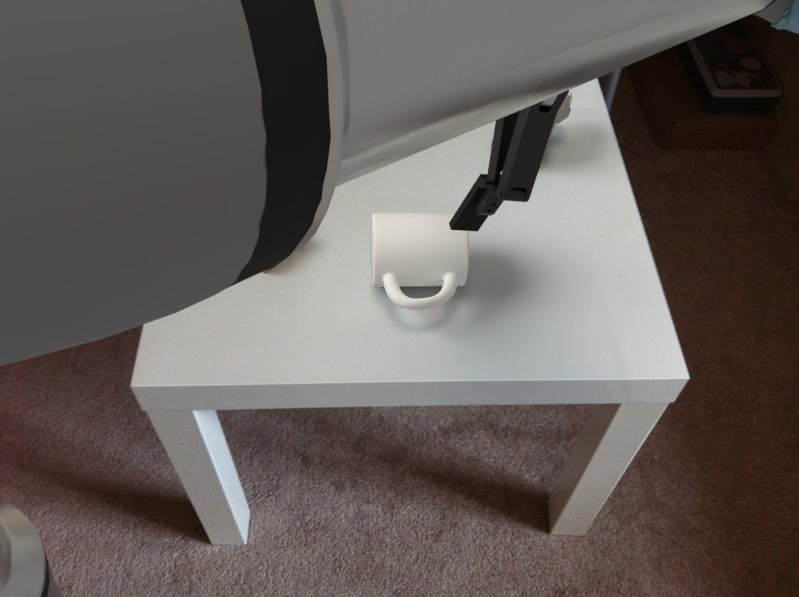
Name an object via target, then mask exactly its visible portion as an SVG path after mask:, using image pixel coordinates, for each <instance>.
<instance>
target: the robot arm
mask: <svg viewBox="0 0 799 597" xmlns="http://www.w3.org/2000/svg"><path fill="white" fill-rule="evenodd" d="M751 16H757V17H759V18H762V19H763V20H765V21H766V22H769V23H770V27H772V28H775V29H776V30H778V31H779V30H786V31H789V32H792V33H794V34H798V35H799V0H0V367H3V366H8V365H12V364H14V363H18V362H22V361H26V360H30V359H33V358H37V357H41V356H44V355H47V354H52V353H55V352H59V351H63V350H67V349H70V348H74V347H78V346H81V345H84V344H89V343H92V342H95V341H99V340H103V339H106V338H109V337H111V336H114V335H118V334H121V333H124V332H126V331H129V330H132V329H134V328H138V327H140V326H142V325H143V326H144V325H145V324H149V323H152V322H154V321H157V320H160V319H162V318H166V317H168V316H171V315H174V314H177V313H179V312H181V311H183V310H185V309H188V308H190V307H192V306H194V305H196V304H198V303H200V302H203V301H205V300H207V299H209V298H211V297H214V296H216V295H218V294H220V293H221V292H223V291H225V290H227V289H229V288H230V287H233V286H235V285H237V284H239V283H241V282H244V281H246V280H247V279H250V278H252V277H254V276H256V275H258V274H261V273H264V272H263V271H265V270H268V269H269V270H271V269H273V268H275V267H277V266H278V265H279V264H282V263H284V262H286V261H288V260H290V259H291V258H293V257H294V256H296V254H298V253H299V252H300V251H302V250H303V249H304V248H305V247H306V245H308V243H309V242H310V241H311V239H312V238H314V236H315V235H316V234H317V232H318V230H319V228H320V226H321V225H322V222H323V220H324V218H325V216H326V215H327V214H328V213H327V212H328V211H329V207H330V204H331V201H332V198H333V195H334V192H335V190H336V188H337V187H340V186H342V185H344V184H347V183H350V182H351V181H354V180H356V179H359V178H361V177H363V176H366V175H368V174H370V173H374V172H376V171H379V170H380V169H382V168H385V167H388V166H390V165H393V164H395V163H398V162H400V161H402V160H404V159H407V158H410V157H412V156H414V155H417V154H418V153H421V152H424V151H426V150H429V149H431V148H433V147H437V146H438V145H440V144H443V143H445V142H447V141H450V140H452V139H455V138H457V137H459V136H462V135H464V134H467V133H469V132H472V131H474V130H476V129H479V128H481V127H484V126H487V125H488V124H491V123H493V122H495V123H494V128H493V135H492V140H493V142H492V141H491V144H492V147H491V148H490V155H489V161H488V166H487V167H488V168H487V173H480V174H479V175H478V177H477V178H476V180H475V181H474V183H473V184H472V186H471V188H470V189H469V191H468V192H467V194H466V196H464V198H463V200H462V202H461V204H460V205H459V206H458V208H457V210H456V211H455V212H454V213H455V214H454V216H453V217H452V219H451V221H450V222H449V225H450V229H451V230H461V231H468V232H479V231H480V229H481V227H483V224H484V223H485V222H486V220H487V219H488V218H489V216H490V217H491V216H494V215H495V214H496V212H498V210H499V208H500V207H501V205H502V204H503V203H504V202H505V201H507V202H519V203H527V202H529V200H530V198H531V196H532V192H533V189H534V186H535V183H536V181H537V177H538V173H539V171H540V167H541V164H542V162H543V158H544V156H545V154H544V152H545V149H546V150H547V146H548V142H549V140H550V139H549V137H550V134H551V130H552V127H553V124H554V121H555V118H556V115H557V112H558V110H559V109H560V107H561V105H562V103H563V102H564V100H565V98H566V97H567V95H569V94H570V90H573V89H575V88H578V87H579V86H582V85H585V84H587V83H589V82H592V81H594V80H597V79H599V78H601V77H603V76H606V75H608V74H611V73H613V72H615V71H618V70H620V69H623V68H625V67H627V66H630V65H632V64H634V63H637V62H639V61H642V60H644V59H647V58H650V57H652V56H654V55H656V54H659V53H661V52H663V51H666V50H668V49H671V48H674V47H676V46H678V45H681V44H683V43H686V42H687V41H690V40H693V39H695V38H697V37H700V36H702V35H705V34H707V33H709V32H712V31H714V30H716V29H719V28H721V27H724V26H726V25H728V24H731V23H733V22H736V21H738V20H739V21H740V20H741V19H745V18H748V17H751ZM550 138H551V137H550ZM545 153H546V152H545ZM543 155H544V156H543ZM269 270H268V271H269ZM49 562H50V561H49V559H48V556H47V554H46V550H45V547H44V544H43V541H42V538H41V536H40V533H39V532H38V529H37V528H36V526H35V525H34V524H33V523H32V522H31V520H30V519H29V518H28V517H27V515H25V514H24V512H22V511H21V510H19V509H18V508H17V507H16V506H14V505H13V504H12V503H10V502H7V501H5V500H3V499H1V498H0V597H65V596H64V595H63V593H62V592H61V590H60V588H59V585H58V584H57V581H56V580H55V578H54V574H53V571H52V568H51V565H50V563H49Z"/></svg>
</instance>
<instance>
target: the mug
mask: <svg viewBox="0 0 799 597" xmlns="http://www.w3.org/2000/svg"><path fill="white" fill-rule="evenodd" d="M455 213H456V212H374V213H372V216H371V262H372V264H371V265H372V267H371V268H372V286H373V287H376V288H377V287H378V288H381V287H382V288H383V287H384V291H385V293H386V295H387V297H388V298H389V300H390V301H391V302H392V303H394V305H396V306H397V307H399V308H401V309H405V310H410V311H426V310H431V309H434V308H438V307H440V306H442V305H444V304H446V303H447V302H449V301H450V299H451V298H452V297H454V295H455V293H456V291H457V288H458V287H463V286H465V285H466V282H467V279H468V274H469V264H470V235H469V231H461V230H451V229H450V225H449V222H450V221H451V219H452V217H453V216H454V214H455ZM401 287H441V289H440V291H438V293H436V294H435V295H431V296H429V297H421V298H414V297H411V296H407V295H406V294H405V293H404V292H403V291H402V289H401Z"/></svg>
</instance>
